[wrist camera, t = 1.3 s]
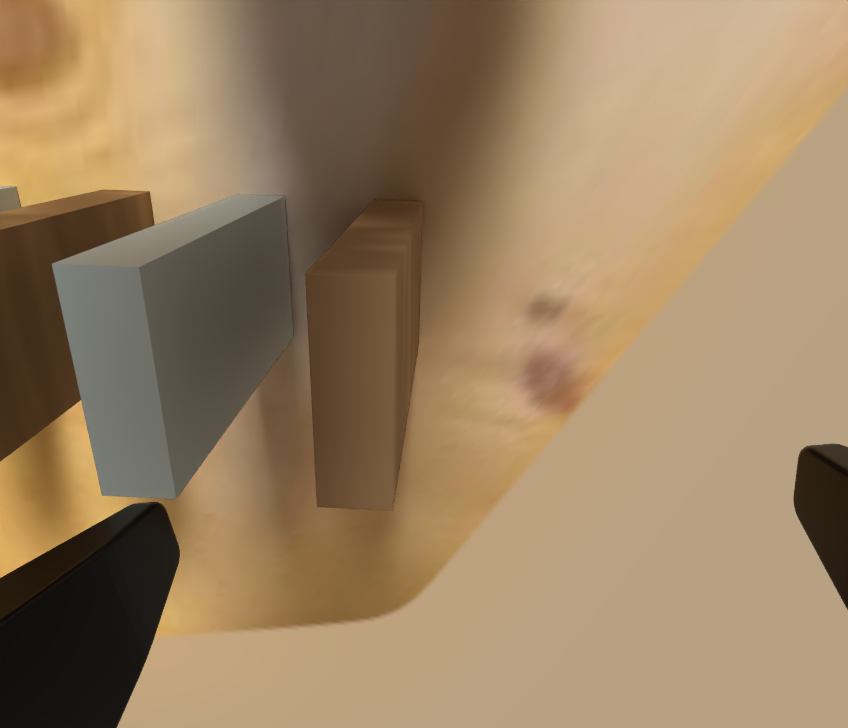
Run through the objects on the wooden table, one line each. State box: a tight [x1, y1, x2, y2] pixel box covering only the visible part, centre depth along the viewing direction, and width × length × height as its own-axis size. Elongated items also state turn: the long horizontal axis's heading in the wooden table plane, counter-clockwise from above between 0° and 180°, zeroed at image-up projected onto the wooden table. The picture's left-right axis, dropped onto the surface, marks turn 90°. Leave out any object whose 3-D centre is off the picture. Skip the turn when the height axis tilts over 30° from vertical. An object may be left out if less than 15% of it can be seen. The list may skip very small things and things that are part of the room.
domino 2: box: [52, 194, 293, 499], centre depth 16 cm, size 2×5×10 cm, turn 178°
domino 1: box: [0, 190, 154, 461], centre depth 16 cm, size 2×5×10 cm, turn 178°
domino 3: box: [305, 199, 423, 511], centre depth 16 cm, size 2×5×10 cm, turn 179°
